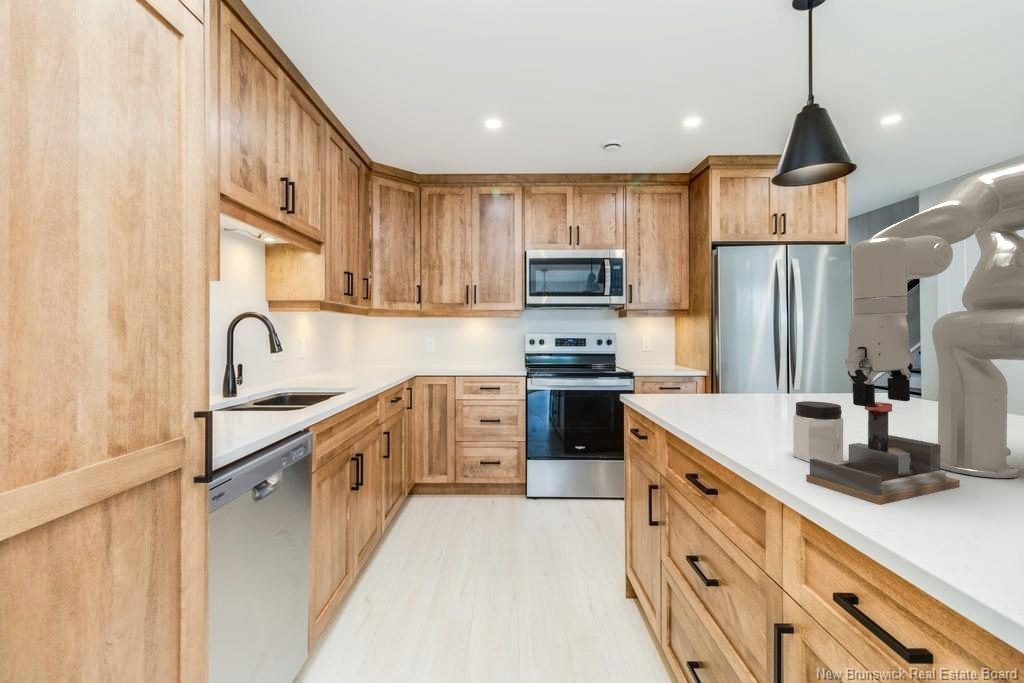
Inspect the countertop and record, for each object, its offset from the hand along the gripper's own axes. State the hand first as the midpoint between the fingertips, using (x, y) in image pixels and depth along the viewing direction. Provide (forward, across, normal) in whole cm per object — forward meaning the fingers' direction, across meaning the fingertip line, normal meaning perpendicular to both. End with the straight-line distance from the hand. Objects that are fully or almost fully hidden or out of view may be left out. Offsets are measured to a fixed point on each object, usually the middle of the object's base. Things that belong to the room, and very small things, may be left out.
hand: (881, 403), depth 79 cm
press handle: (+13, +2, 0) cm, 13 cm away
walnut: (+11, -4, 0) cm, 11 cm away
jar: (+15, -4, -15) cm, 22 cm away
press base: (+15, 0, 0) cm, 15 cm away
